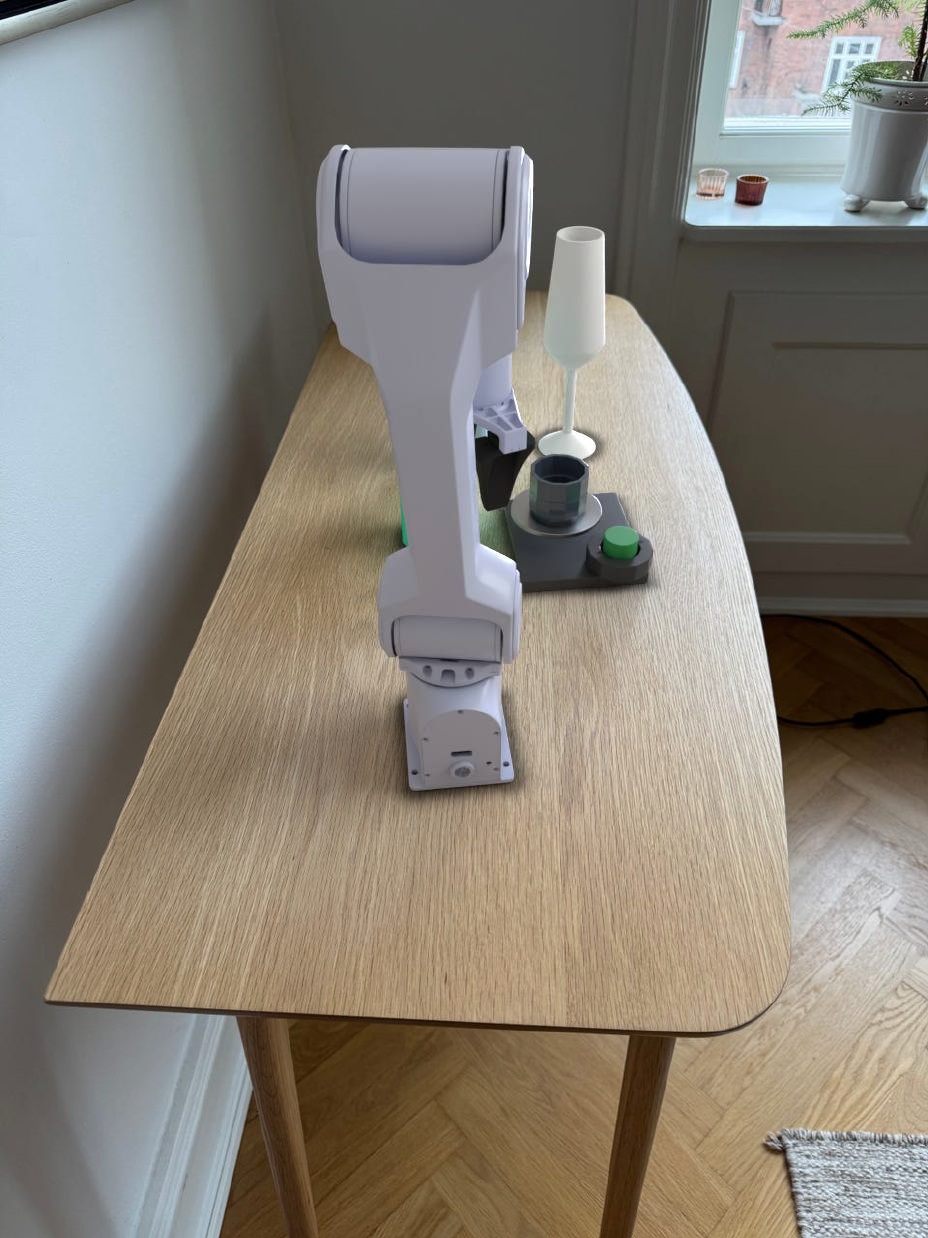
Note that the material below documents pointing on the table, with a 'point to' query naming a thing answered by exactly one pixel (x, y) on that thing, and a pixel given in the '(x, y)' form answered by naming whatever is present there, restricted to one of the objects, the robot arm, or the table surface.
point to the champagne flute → (574, 323)
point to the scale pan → (555, 529)
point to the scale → (578, 555)
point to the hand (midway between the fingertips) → (477, 485)
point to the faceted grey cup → (558, 487)
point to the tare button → (620, 542)
